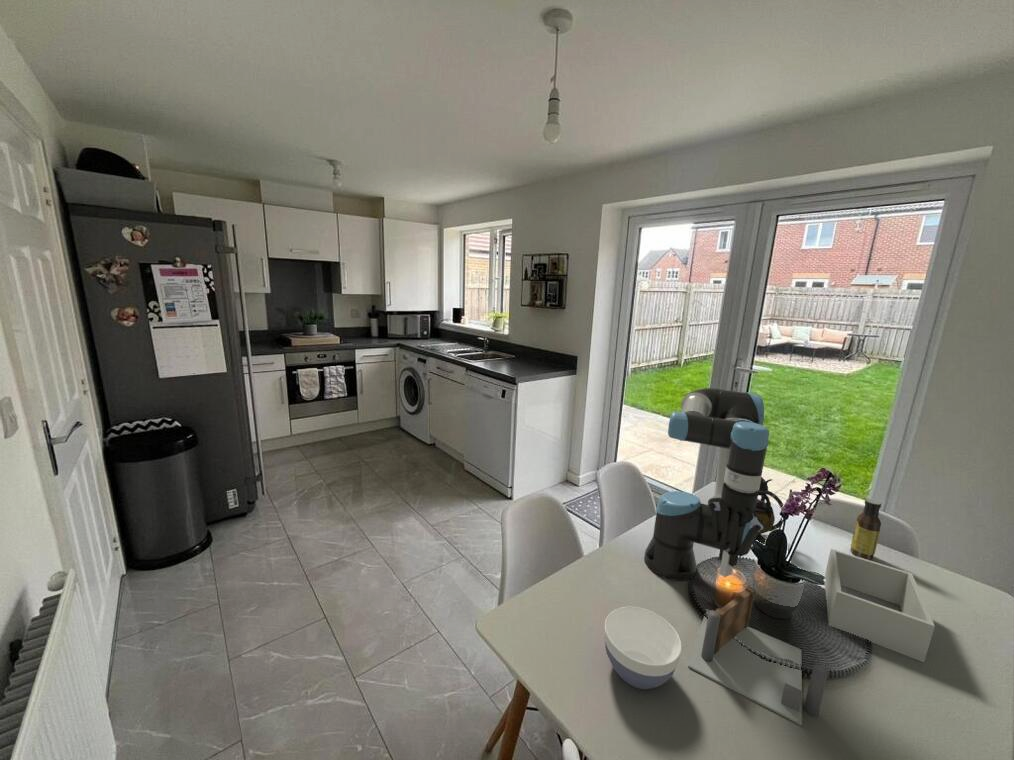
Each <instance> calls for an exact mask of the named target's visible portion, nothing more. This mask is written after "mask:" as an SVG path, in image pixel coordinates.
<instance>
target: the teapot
mask: <svg viewBox="0 0 1014 760" xmlns="http://www.w3.org/2000/svg"><path fill="white" fill-rule="evenodd" d="M772 481H773V479H771V478H769V479H767V480H766V479H764V477H762V476H761V483H760V489H759V490H758V497H759V496H760V499H759V498H758V499H757V504H756V507H755V513H756V517H757V519H758V521H759V522H760V523H763V524H764V525H765V528H764V529H762V530H761V531H759V533H758V535H757V537H756V539H755V540H758V541H759V542H761V543H763V544H762V545H764V544H765V543H766V539H765V537H764V536H763V534H766V533H768V532H773V531H775V530H777V529H779V528H781V527H782V526H781V524H782V518H781V517H780V519H779V521H777V523H775V520H776V519H775V512H774V509H773V507H772V503H771V501H770V498H769V496H770V497H771V498H772V499H774V500H775V501H776V502H777V504H778V506H779V508H780V509H781V507H782V506H783V505H784V503H783V501H782V500H781V499H780V498H779V497H778V496H777V495H776V494H775V493H774V492H772V491H770V490H769V486H768V483H769V482H772ZM765 501H766V502H765ZM774 523H775V524H774ZM764 542H765V543H764Z"/></svg>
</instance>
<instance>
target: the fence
mask: <svg viewBox="0 0 1014 760" xmlns="http://www.w3.org/2000/svg"><path fill="white" fill-rule="evenodd" d="M706 610H707V611H708V612H709V613H708V619H707V618H706V617H705V616H704V615H703V618H702V621H701V625H700V627H699V630H698V634H697V638H696V640H695V643H694V647H693V649H692V653H691V656H690V659H689V662H688V666H687V668H689V669H691V670H692V671H695V672H697V673H699V674H700V675H702V676H704V677H706V678H708V679H710V680H712V681H713V682H716V683H718V684H719V685H722V686H724V687H725V688H728V689H730V690H732V691H733V692H736V693H737V694H740V695H742V697H745V698H746V699H749V700H750V701H753V702H755V703H757V704H759V705H760V706H762V707H764V708H766V709H768V710H771V711H772V712H774V713H776V714H778V715H779V716H782V717H783V718H786V719H787V720H789V721H791V722H794V723H795V724H798V725H799V726H802V725H803V710H804V711H805V713H807V714H808V715H809V716H812V717H815V718H816V717H818V716H819V712H820V708H821V704H822V702H823V696H824V692H825V690H826V689H825V688H826V684H827V681H828V676H829V671H828V670H827V669H826V667H824V666H822V665H820V664H814V665H813V666H812V670H811V674H810V679H809V683H808V687H807V691H806V695H805V696H806V697H805V701H804V704H803V703H802V702H803V696H804V694H803V693H804V691H803V690H802V688H803V687H802V684H803V683H802V682H803V677H802V675H803V674H802V671H803V670H798V669H793V668H789V667H787V666H784V665H780V664H778V663H773V662H768V661H766V660H763V659H761V658H760V657H759V656H757V655H755V654H753V653H751V652H750V651H749V650H747V648H746V647H743V646H741V644H739V643H738V642H737V641H736V640H735V639H733V638H732V639H731V640H729V641H728V642H727V643H726V644H725V645H723V646H722V647H721V648H720V649H719V651H718V652H717V653H716V654H714V650H715V645H716V639H717V633H718V628H719V622H720V617H721V616H720V614H719V613H718V612H716V611H715V610H711V609H708V608H706V609H705V611H706ZM734 637H737V638H738V639H740V641H741V640H742V642H743V643H744V645H745V644H746V645H747V646H749V647H751V648H753V649H754V650H756V651H757V650H758V651H761V652H764V653H765V652H766V653H768V654H770V653H771V654H770V655H773V656H775V657H777V658H780V659H781V658H782V659H787V660H788V659H789V660H791V661H793V662H794V663H797V664H799V665H800V664H801V665H802V666H803V663H802V658H803V657H802V649H800V648H799V647H796V646H794V645H791V644H789V643H787V642H784V641H783V640H780V639H779V638H775V637H773V636H771V635H768V634H766V633H764V632H761V631H760V630H757V629H754V628H752V627H749V626H748V627H746V628H744V629H743V630H741V631H740V632H739V633H738V634H737V635H735V636H734Z"/></svg>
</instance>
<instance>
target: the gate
mask: <svg viewBox="0 0 1014 760" xmlns="http://www.w3.org/2000/svg"><path fill="white" fill-rule="evenodd" d="M755 595H756V589H755V588H753V587H752V586H750V585H748V586H747V587H746V588H745V589H744V591H743V592H742V593H740V594H739V595H737V596H735V598H733V599H732V600H731V601H729V602H728V603H727V604H725V605H724V606H723V607H721V608H720V607H718V608H716V609H715V610H714V611H716V612H718V613H719V614H720V616H721V617H720V622H719V628H718V633H717V639H716V645H715V650H714V654H716V653H717V652H718V651H719V649H720V648H721V647H722V646H723V645H725V644H726V643H727V642H728V641H729V640H731V639H732V638H733V637H734V636H735V635H737V634H738V633H739V632H740V631H741V630H743V629H744V628H746V627H749V626H750V619H751V617H752V616H751V615H752V610H753V605H754V600H755Z"/></svg>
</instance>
